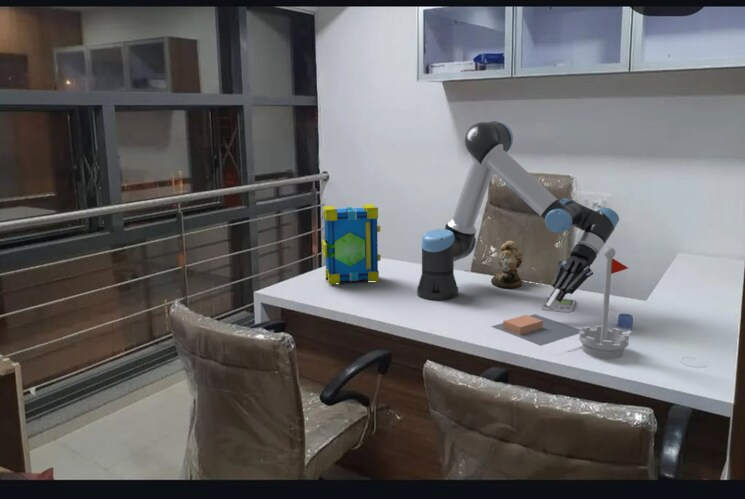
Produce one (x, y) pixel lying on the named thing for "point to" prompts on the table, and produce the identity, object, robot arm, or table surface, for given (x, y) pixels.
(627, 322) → the decorative dice
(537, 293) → the table surface
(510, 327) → the card deck
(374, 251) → the decorative book
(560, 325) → the mat
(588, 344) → the flag stand
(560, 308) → the handheld gaming console
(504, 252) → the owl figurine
